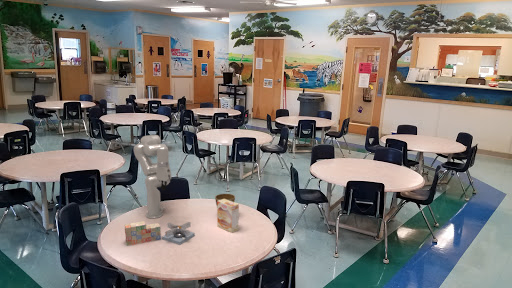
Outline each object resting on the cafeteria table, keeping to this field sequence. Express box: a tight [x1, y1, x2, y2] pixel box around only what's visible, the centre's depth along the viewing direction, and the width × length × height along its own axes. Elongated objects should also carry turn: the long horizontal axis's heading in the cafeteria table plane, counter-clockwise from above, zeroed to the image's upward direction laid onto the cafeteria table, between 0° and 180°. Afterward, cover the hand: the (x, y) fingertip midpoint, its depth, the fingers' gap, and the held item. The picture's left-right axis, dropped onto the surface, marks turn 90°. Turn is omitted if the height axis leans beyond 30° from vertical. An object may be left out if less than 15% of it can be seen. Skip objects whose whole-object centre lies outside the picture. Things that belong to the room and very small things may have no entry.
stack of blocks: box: [124, 220, 162, 246], centre depth 239 cm, size 21×6×12 cm, turn 116°
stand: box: [161, 231, 196, 246], centre depth 244 cm, size 15×15×2 cm
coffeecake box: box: [216, 199, 240, 234], centre depth 258 cm, size 15×7×20 cm, turn 47°
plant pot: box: [214, 193, 236, 206], centre depth 278 cm, size 15×15×16 cm
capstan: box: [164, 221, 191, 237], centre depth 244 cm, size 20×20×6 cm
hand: (163, 189), depth 256 cm, fingers closed
